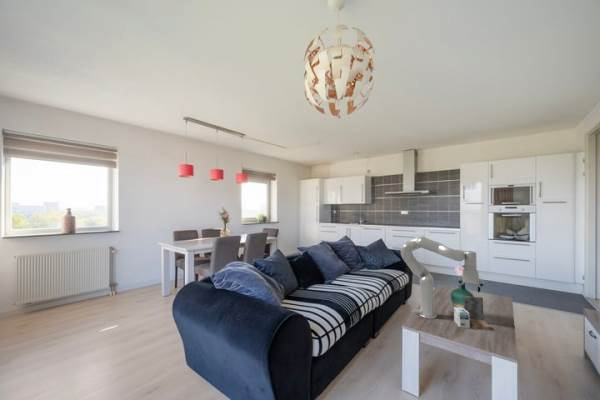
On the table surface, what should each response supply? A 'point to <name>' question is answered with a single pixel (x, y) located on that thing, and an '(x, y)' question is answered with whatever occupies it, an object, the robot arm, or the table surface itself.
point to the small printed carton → (476, 312)
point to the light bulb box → (461, 317)
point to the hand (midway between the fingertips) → (470, 291)
